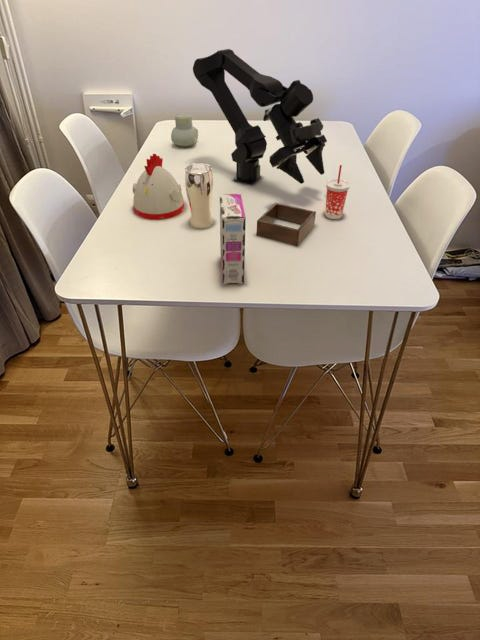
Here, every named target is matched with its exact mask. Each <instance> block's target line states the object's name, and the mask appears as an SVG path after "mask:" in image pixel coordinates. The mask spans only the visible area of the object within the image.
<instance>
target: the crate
mask: <svg viewBox="0 0 480 640" xmlns="http://www.w3.org/2000/svg"><path fill="white" fill-rule="evenodd" d="M316 215H317V211H315V210H310V209H306V208H301V207H297V206H292V205H289V204H284V203H279V202H274V204H272V205H271V207H269V208H268V209H267V210H266V211H265V212H264V213H263V214H262V215H261V216H260V217H259V218H258V219H257V220H256V236H257V237H262V238H264V239H269V240H273V241H276V242H280V243H284V244H288V245H292V246H296V247H299V246H300V245H301V243H302V242H303V240H305V238H306V237H307V236H308V235H309V234H310V232H311V231H312V230H313V228H314V227H315V224H316V223H315V222H316ZM276 219H278V220H282V221H286V222H290V223H293V224H298V225H300V226H299V227H298V228H294V227H290V226H286V225H282V224H278V223H273V222H274V221H275V220H276Z"/></svg>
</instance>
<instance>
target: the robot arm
mask: <svg viewBox="0 0 480 640" xmlns="http://www.w3.org/2000/svg"><path fill="white" fill-rule="evenodd" d="M192 73H193V75H194V77H195V79H196V80H197V82H199V84H200V85H201V86H202V87H203V88H205V89H206V90H207V91H209V92H211V94H212V96H213V98H214V99H215V101H216V103H217V105H218V106H219V108H220V110H221V112H222V114H223V115H224V117H225V118H226V120H227V123H228V124H229V125H230V127H231V129H232V131H233V132H234V135H235V136H234V143H235V147H236V148H235V149H234V150H233V151H232V153H231V154H230V155H231V159H232V162H234V163H235V165H236V168H235V169H236V170H235V171H236V176H235V177H234V178H233V181H235V182H239V183H243V184H247V185H248V184H249V185H254V184H255V183H256V182H258V180H260V179H261V178H262V175H261V164H260V159H263V158H264V155H265V153H266V150H267V145H268V143H267V142H268V141H267V139H266V137H267V136H266V135H265V134H264V133H263V131H262V129H261V127H260V125H259V124H258V125H254V126H253V125H252V124H251V123H250V122H249V121H248V119H247V118H246V116H245V114H244V112H243V109H242V108H241V106H240V105H239V103H238V102H237V100H236V98H235V97H234V94H233V93H232V91H231V90H230V88H229V86H228V84H227V82H226V73H228V75H230V76H232V77H233V78H234V79H235V80H236V81H238V82H239V83H240V84H241V85H242V86H244V87H245V88H246V89H247V90H248V91H249V95H250V98H251V99H252V100H253V102H255V103H256V104H257V105H258V107H260V108H265V107H269V106H271V107H270V108H266V109H264V115H263V118H262V119H263V122H266V121H270V122H271V124H272V126H273V128H274V130H275V131H276V134H277V136H275V139H276V141H281V144H282V145H283V146H282V147H280V148H278V149H277V150H276V151H275V152H273V153H272V154H271V155H270V156H269V161H268V162H269V163H270V166H271V167H272V168H276V170H281V172H284V173H286V174H287V176H290V177H291V178H292V179H293V180H294V181H296V182H298V183H299V184H300V185H302V184H304V183H305V179H304V176H303V174H302V171H301V170H300V167H299V165H298V163H297V158H298V157H297V155H298V154H301V153H304V154H305V158H306V159H307V160H308V162H309V163H310V164H311V166H313V168H314V169H315V170H316V172H318V173H319V174H320V175H324V174H325V167H324V159H323V150H324V148H325V146H326V143H327V142H328V140H327V138H326V136H325V135H324V134H322V131H323V129H324V124H323V123H322V121H321V119H320V118H319V117H317V118H314V119H311V120H310V121H309V122H310V123H309V124H306V125H304V124H303V123H302V122H301V121H299V122H297V120H296V118H295V117H299V115H301V113H303V112H304V111H305V110H306V109H307V108H308V107H309V106H310V105H311V104H312V103H313V102H314V94H313V92H312V90H311V89H310V88H309V87H308V86H307V85H305V84H304V83H301V80H300V79H296V80H293V81H292V82H291V83H290V85H289V86H288V87H287V86H284V85H283V83H282V82H281V81H280V80H279V79H276V78H274V77H273V76H270V75H266V74H262V73H260V72H259V71H258V70H256V69H255V68H253V67H252V66H251V65H250V64H249V63H247V62H246V61H245V60H243V59H242V58H241V57H240V56H238V55H237V54H235V52H234V50H233V49H230V48H225V49H221V50H217V51H216V52H214V53H213V54H210V55H208V56H205V57H200V58H196V59H195V60H194V62H193V67H192ZM272 105H273V106H272Z"/></svg>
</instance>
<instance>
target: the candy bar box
mask: <svg viewBox="0 0 480 640" xmlns="http://www.w3.org/2000/svg"><path fill="white" fill-rule="evenodd" d="M246 221H247V216H246V212H245V208H244V202H243V197H242V194H241V193H229V194H228V193H227V194H219V240H220V242H219V243H220V246H219V247H220V265H221V276H222V285H224V286H231V285H245V260H246V259H245V256H246Z"/></svg>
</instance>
